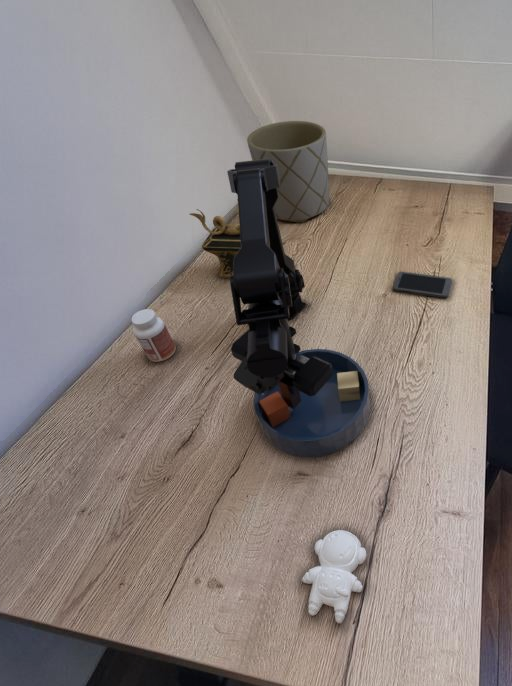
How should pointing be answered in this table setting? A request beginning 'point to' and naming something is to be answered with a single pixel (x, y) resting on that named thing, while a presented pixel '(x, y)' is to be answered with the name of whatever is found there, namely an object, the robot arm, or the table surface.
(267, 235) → the robot arm
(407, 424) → the table surface
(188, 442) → the table surface
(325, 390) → the bowl
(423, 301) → the table surface
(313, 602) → the astronaut figurine
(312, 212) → the planter
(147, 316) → the pill bottle
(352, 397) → the maple block
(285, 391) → the dark brown wooden bar
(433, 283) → the cell phone
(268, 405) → the terracotta block
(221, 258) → the decorative box
